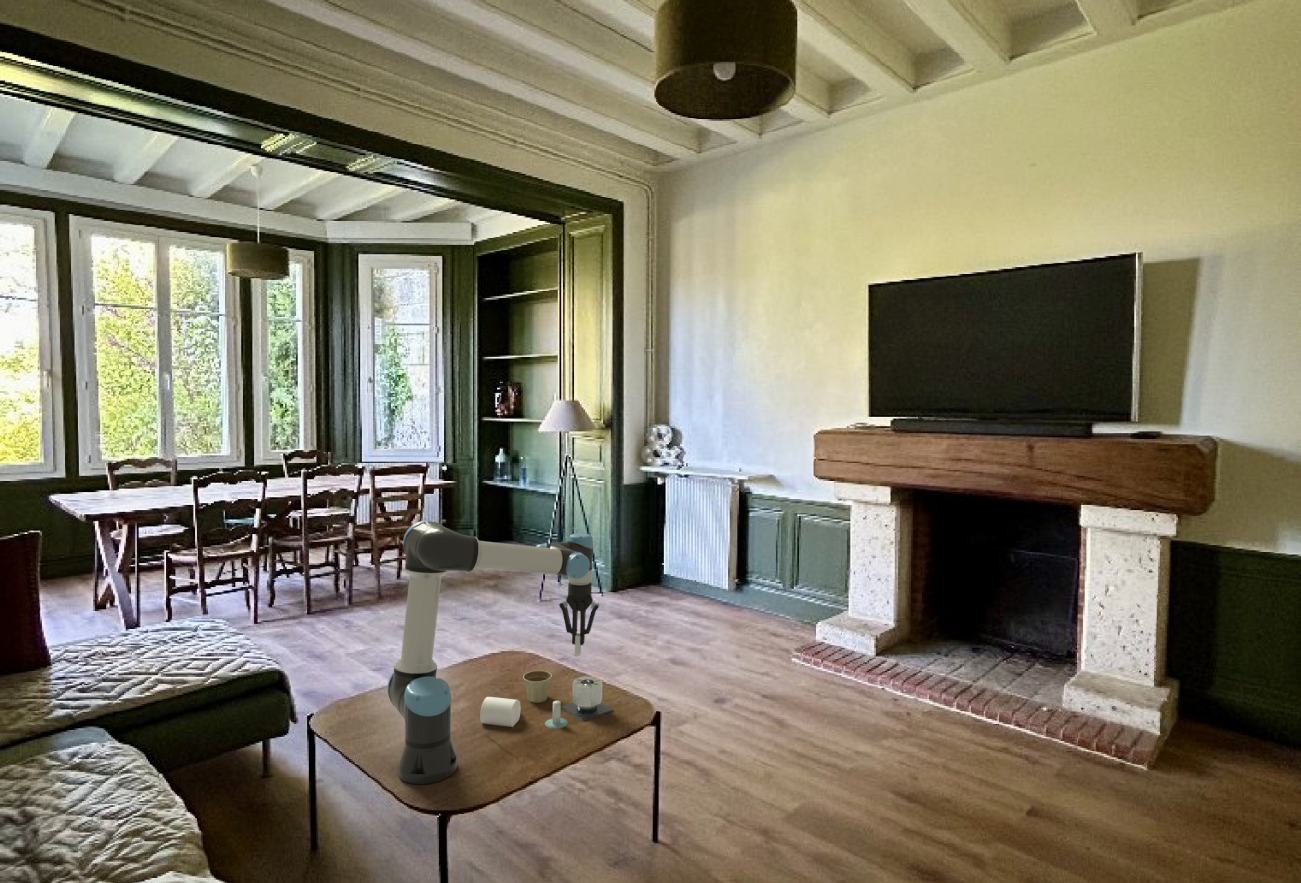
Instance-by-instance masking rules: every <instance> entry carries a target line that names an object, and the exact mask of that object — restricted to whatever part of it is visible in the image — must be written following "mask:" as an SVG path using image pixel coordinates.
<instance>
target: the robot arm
mask: <svg viewBox="0 0 1301 883" xmlns="http://www.w3.org/2000/svg"><path fill="white" fill-rule="evenodd" d="M593 539H594V538H593V536H592V535H591V534H589V533H582V532H581V533H580V532H578V533H572V534H570V535H569V539H568V541H567V540H566V541H561V542H560V541H559V542H548V543H547V542H544V543H540V544H536V545H535V546H532V545H531V546H530V545H522V544H514V543H513V544H512V543H502V542H493V541H484V540H479V539H478V537H477V536H470V535H466V534H462V533H459V532H456V531H454V530H452V529H450V528H447V527H445V526H443V525H442V524H440V523H439V522H437V521H432V520H421V521H417V522H416V523H414V524H412V525H411V526H410V527H409V528H408V529H407V530H406V532H405V533H404V536H403V540H402V546H403V550H404V552H405V563H404V571H406V572H407V573H408V574H409V579H408V580H409V581H408V589H407V598H406V609H405V614H404V615H405V617H404V625H403V626H404V627H403V634H402V646H401V652H400V659H399V660H397V662H395V663H394V668H393V673H392V674H391V675H390V677H389V678H388V682H387V687H386V688H387V695H388V699H389V701H390V702H391V704H392V705H393V707H394V708H395V709H396V710H397V712H398V713H399V714H400V715H401V717H402V718H403V719H404V729H405V730H404V747H403V750H402V752H401V756H400V758H399V762H398V765H397V766H398V767H397V774H398V777H399V779H400V780H401V781H403V782H405V783H408V784H414V785H427V784H434V783H437V782H440V781H443V780H445V779H447V778H450V776H452V775H453V774H454V773H455V772H456V771H457V769H458V757H457V753H456V751H455V749H454V748H455V747H454V745H453V742H452V739H451V722H452V721H451V719H452V718H451V714H452V713H451V709H452V707H451V705H452V704H451V701H452V693H451V687H450V685H449V683H448V682H447V681H446V680H445V679H443V678H441V677H438V678H437V671H438V664H437V663H436V662H435V661H434V659H433V658H434V649H435V648H434V647H435V640H436V639H435V638H436V628H437V620H438V613H439V612H438V611H439V610H438V609H439V600H440V592H441V582H442V577H443V576H444V575H445V574H447V573H448V572H469V573H472V572H473V571H474V570H476V569H478V570H479V569H480V570H490V571H491V570H492V571H502V572H504V571H505V572H516V573H517V572H518V573H530V574H545V575H555V576H564V577H565V576H566V577H568V579H567V580H568V583H567V584H568V586H567V597H566V598H565V600H563V601H561V602H560V603H559V604H558V605H559V608H560V610H561V611H562V616H563V621H564V625H565V631H566V633H568V634H571V636H572V637H571V643H572V645H573V646H574V656H577V657H578V656H579V657H580V655H581V654H582V646H584V644H585V637H586V636H585V635H588V634H590V633H591V630H592V626H593V623H594V620H595V615H596V613H597V610H598V609H599V607H600V604H599V603H596V602H595V601H594V599H593V597H592V596H593V595H592V590H593V589H592V587H593V584H592V583H591V582H592V581H593V553H594V540H593ZM568 605H569V607H570V609H571V611H572V612H571V613H572V623H571V619H570V614H569V610H568V609H569V608H568ZM590 606H591V607H590ZM589 607H590V609H591V611H590V614H589V618H588V622H587V625H586V612H587V610H588V608H589ZM578 614H580V624H579V632H578V619H579V618H578V616H579V615H578Z"/></svg>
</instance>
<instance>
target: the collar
mask: <svg viewBox="0 0 1301 883" xmlns="http://www.w3.org/2000/svg"><path fill="white" fill-rule="evenodd" d="M586 682H590V683H592V684H591V685H583V684H584V683H586ZM571 687H572V688H571V689H572V691H571V692H572V697H571V698H572V699H571V700H572V701H571V703H574V704H576V705H578V706H585V707H592V706H595V705H598V704H600V703H601V702H602V700H603V680H602V679H600V678H598V677H596V676H580V677H577V678H574V680H573V682H572V686H571Z"/></svg>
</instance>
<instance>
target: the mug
mask: <svg viewBox="0 0 1301 883" xmlns="http://www.w3.org/2000/svg"><path fill="white" fill-rule="evenodd" d="M521 707H522V706H521V702H520V700H518V699H512V698H504V697H503V698H502V697H494V696H486V697H485V698H484V699H483V701H482V704H481V707H480V713H479V717H480V722H481V724H483V725H494V726H501V727H511V728H513V727H514V726H515V725H516V724H517V723H518V721H520V717H521Z"/></svg>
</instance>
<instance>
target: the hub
mask: <svg viewBox="0 0 1301 883" xmlns="http://www.w3.org/2000/svg"><path fill="white" fill-rule="evenodd" d="M591 684H592V683H590V682H586V683H584V684H583V685H591ZM561 710H563V711H565V712H566V713H568V714H570V715H571V716H573V717H575V718H576V719H578V720H580V721H582V722H586V721H589V720H591V719H594V718H597V717H600V716H603V715H605V714H610V713H612V712H614V711H615V709H614V708H612V707H610V706H609V705H607V704H605V703H603V702H602V701H601V703H600V704H598V705H595V706H592V707H585V706H578V705H576V704H574V703H573V702H571V703H569V704H568V703H567V704H565V705H562V706H561Z"/></svg>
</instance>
